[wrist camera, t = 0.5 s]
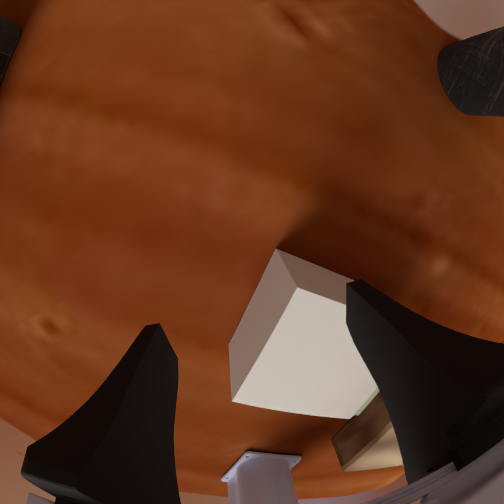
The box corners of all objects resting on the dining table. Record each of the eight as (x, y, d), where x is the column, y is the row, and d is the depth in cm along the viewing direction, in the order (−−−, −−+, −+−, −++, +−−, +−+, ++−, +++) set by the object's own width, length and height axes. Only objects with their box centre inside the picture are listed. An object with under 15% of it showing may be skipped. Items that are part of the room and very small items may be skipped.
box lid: (403, 460, 28) (409, 472, 26) (341, 467, 25) (346, 481, 23) (451, 414, 25) (459, 425, 23) (396, 415, 23) (405, 430, 21)
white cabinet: (327, 369, 25) (350, 418, 19) (228, 344, 23) (231, 401, 17) (378, 290, 23) (418, 330, 17) (275, 248, 21) (297, 287, 15)
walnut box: (392, 438, 32) (403, 460, 28) (331, 439, 30) (341, 466, 25) (434, 392, 30) (450, 413, 25) (378, 386, 27) (395, 414, 23)
